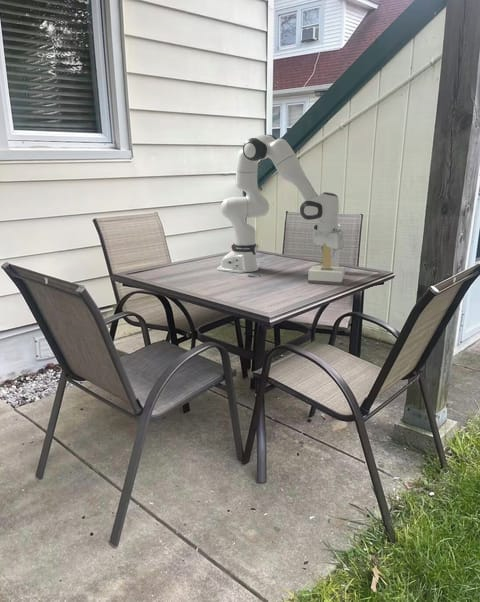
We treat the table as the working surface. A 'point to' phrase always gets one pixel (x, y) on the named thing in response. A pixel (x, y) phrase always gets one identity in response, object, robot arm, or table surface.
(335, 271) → the socket block
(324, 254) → the brass peg
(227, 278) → the table surface
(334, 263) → the cylindrical container
